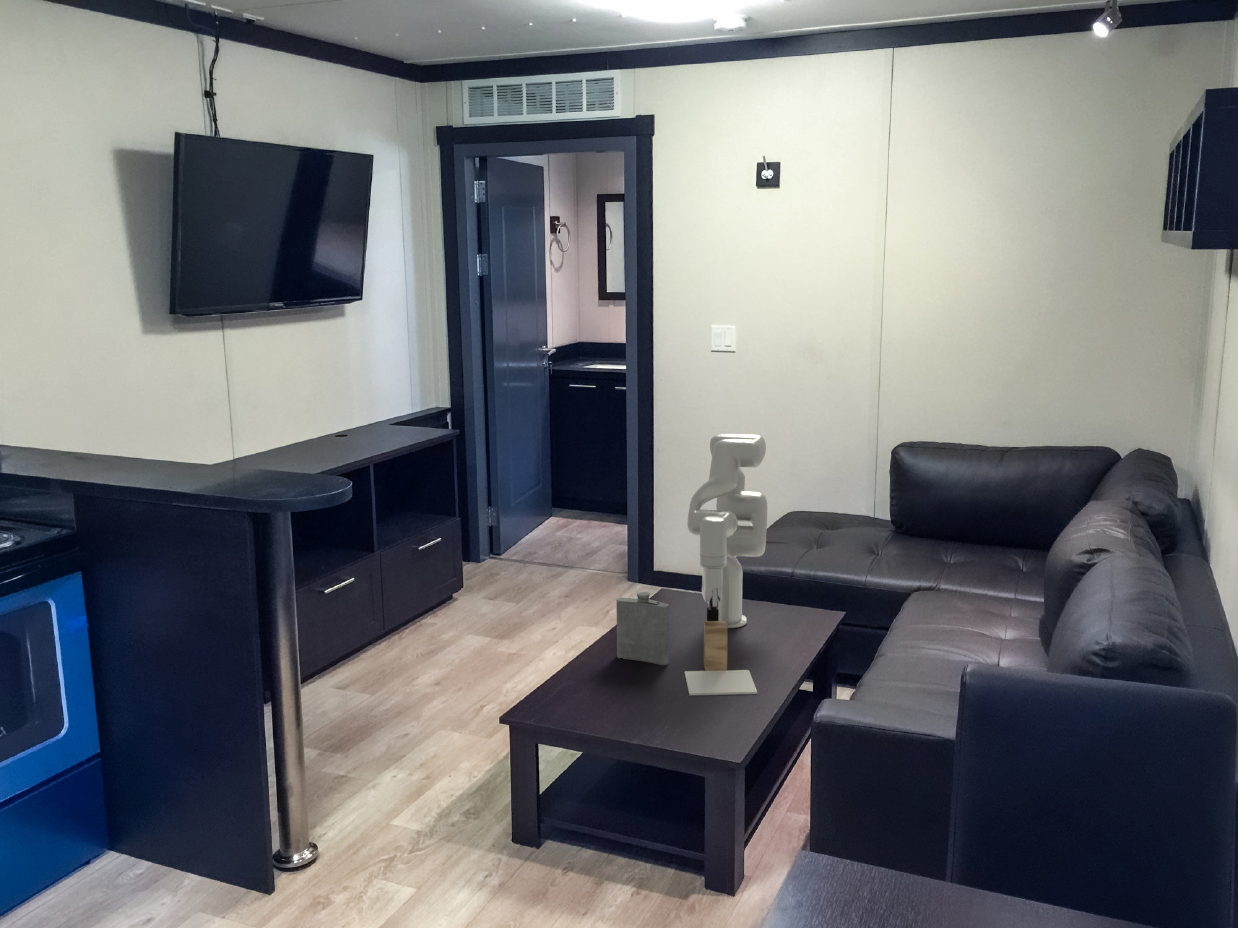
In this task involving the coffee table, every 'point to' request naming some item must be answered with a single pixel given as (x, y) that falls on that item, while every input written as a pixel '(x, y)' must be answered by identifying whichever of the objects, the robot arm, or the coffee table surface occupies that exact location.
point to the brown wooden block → (715, 645)
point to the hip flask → (643, 629)
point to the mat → (720, 682)
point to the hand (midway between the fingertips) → (712, 621)
